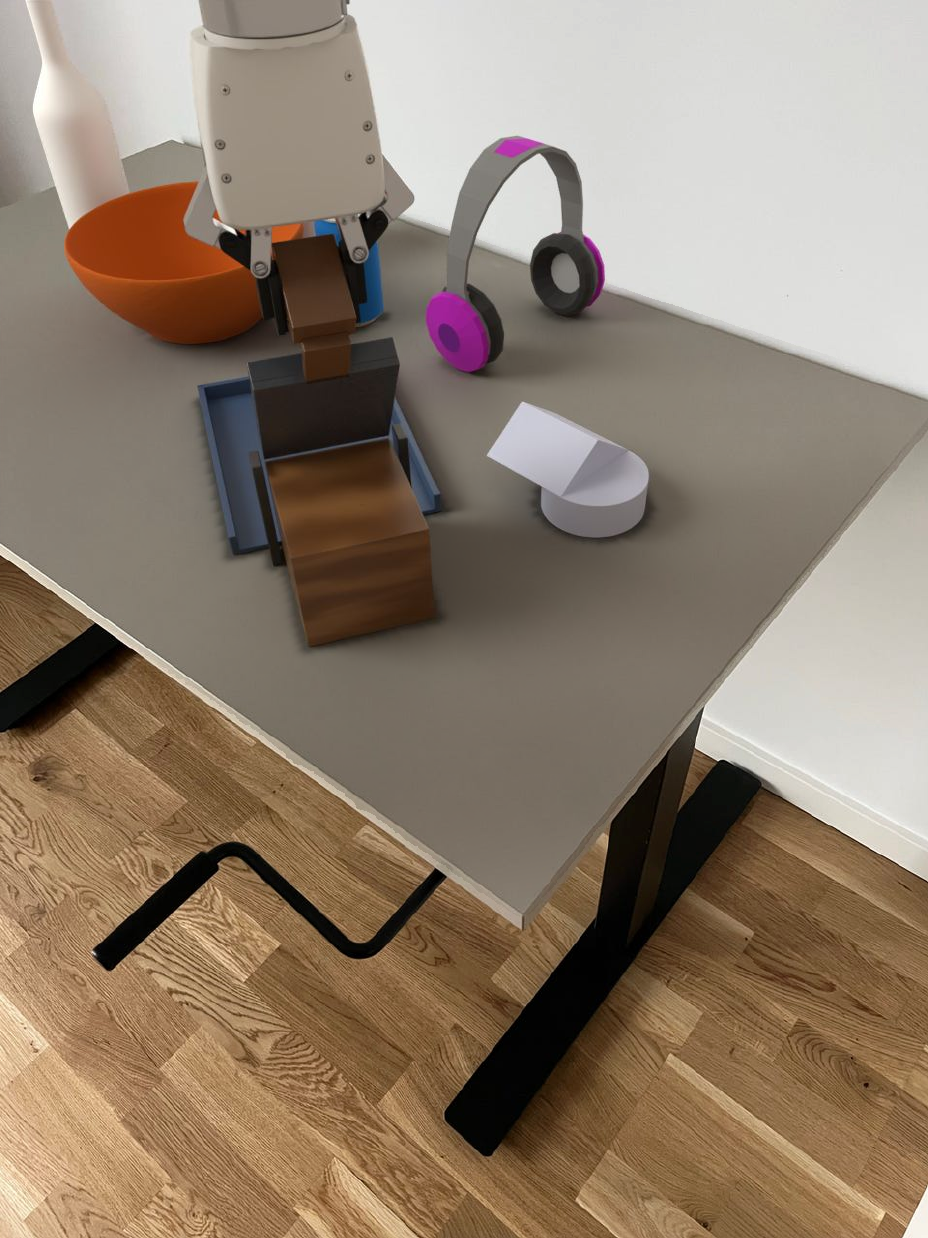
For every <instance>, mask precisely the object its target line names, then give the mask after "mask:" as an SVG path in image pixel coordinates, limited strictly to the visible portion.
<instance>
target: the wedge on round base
mask: <svg viewBox="0 0 928 1238" xmlns="http://www.w3.org/2000/svg"><path fill="white" fill-rule="evenodd" d="M486 456H487V457H488V458H490V459H492V460H494V461H495V462H497V463H498V464H500V465H502V466H504V467H506V468H508V469H510V470H511V471H513V472H515V473H517V474H518V475H519V476H522V477H524V478H525V479H528V480H529V481H530V482H533V483H534V484H536V485H538V486H540V487H541V493H540V494H541V497H540V507H541V511H542V513H543V515H544V516H545V517H546V519H547V520H548V522H550V523H551V524H552V525H553V526H555V527H556V528H557V529H560V530H561V531H563V532H566V533H568V534H570V535H574V536H578V537H584V538H607V537H608V538H609V537H613V536H618V535H620V534H623V533H626V532H627V531H629V530H631V529H633V528H634V527H635V526H637V525H638V523H639V522H640V521H641V520H642V518H643V517H644V514H645V509H646V502H647V495H648V488H649V480H650V475H649V474H650V473H649V469H648V467H647V464H646V463H645V462H644V461H643V459H642V458H641V457H640V456H638V455H637V454H636V453H634V452H633V451H631V450H629V449H627V448H625V447H624V446H621V445H619V444H617V443H615V442H613V441H611V440H609V439H608V438H605V437H603V436H601V435H599V434H597V433H596V432H594V431H592V430H589V429H588V428H586V427H584V426H581V425H580V424H577V423H576V422H573V421H572V420H570V419H568V418H566V417H564V416H562V415H560V414H558V413H556V412H553V411H550V410H547V409H545V408H542V407H539V406H537V405H534V404H531V403H528V402H525V401H521V402H520V404H519V405H518V407H517V409H516V410H515V411H514V413H513V414H512V416H511V417H510V419H509V421H508V422H507V423H506V425H505V427H504V428H503V429H502V432H501V433H500V434H499V436H498V438H497V439H496V441H495V442H494V443H493V445H492V447H491V448H490V450H489V451H488V453H486Z"/></svg>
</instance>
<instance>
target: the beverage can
mask: <svg viewBox="0 0 928 1238" xmlns="http://www.w3.org/2000/svg"><path fill="white" fill-rule="evenodd" d="M359 216H360V214H358V217H359ZM314 227H315V234H316V236H320V235H327V234H334V236H335V239H336V243H337V246H339V242H340V240H341V236H340V233H339V230H338V227H337V224H336V220H335V218H333V219H326V220H320V221H315V222H314ZM378 241H379V239H378V240H377V241H376V243H375V244H374V245H373V246H372V248H371V249H370V250H369V256H368V259H367V260H366V261H365V262H364V271H365V281H366V291H367V303H364V304H359V308H360V317H361V323H356V328H359V327H364V326H368V325H370V324H372V323H373V322H375V321H376V320H377V318H379V317H380V316H381V315H382V314H383V312H384V309H385V308H384V296H383V284H382V283H383V282H382V271H381V261H380V252H379V251H380V250H379V242H378Z"/></svg>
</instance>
